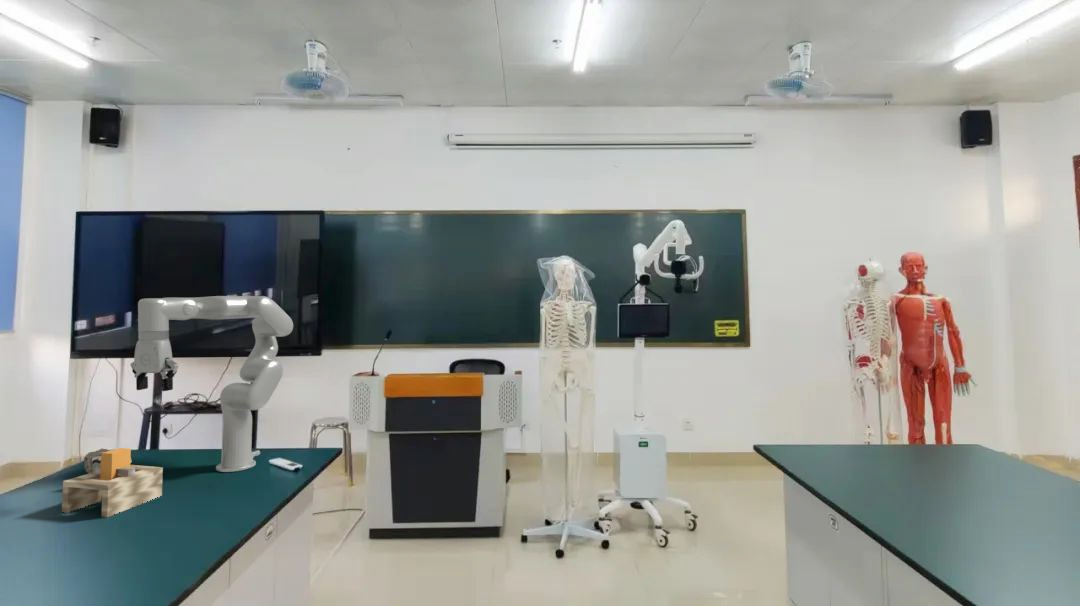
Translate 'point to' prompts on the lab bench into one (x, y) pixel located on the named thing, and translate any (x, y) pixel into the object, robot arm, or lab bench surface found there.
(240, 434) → the robot arm
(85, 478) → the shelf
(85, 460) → the pumice stone
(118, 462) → the tall wooden brick
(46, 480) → the lab bench surface
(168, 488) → the lab bench surface
